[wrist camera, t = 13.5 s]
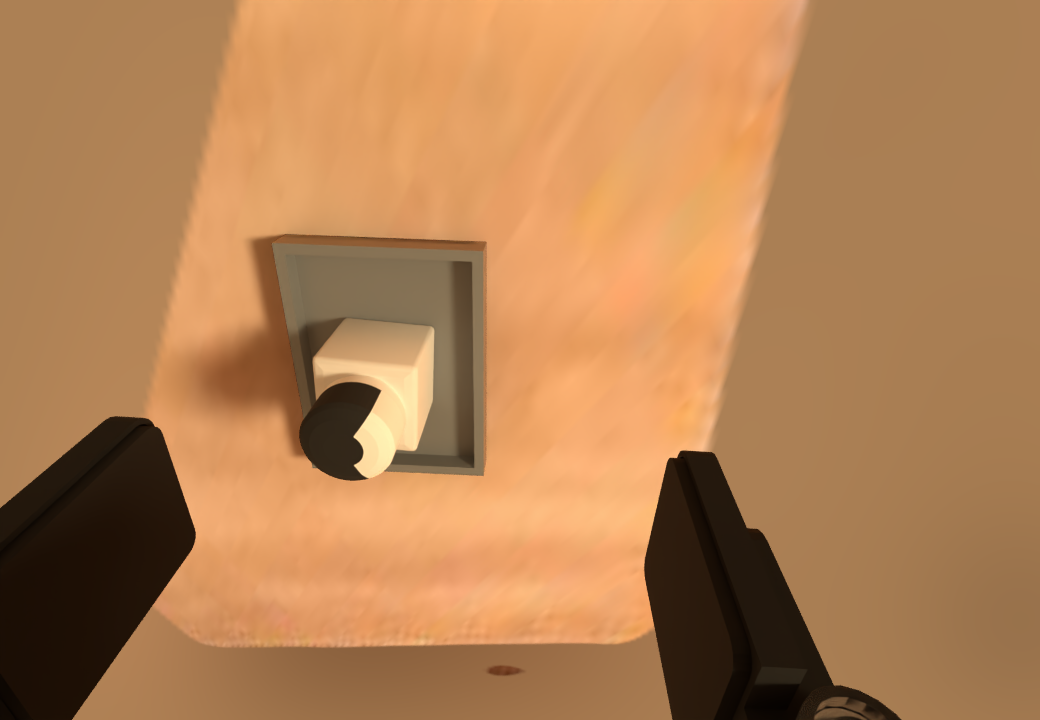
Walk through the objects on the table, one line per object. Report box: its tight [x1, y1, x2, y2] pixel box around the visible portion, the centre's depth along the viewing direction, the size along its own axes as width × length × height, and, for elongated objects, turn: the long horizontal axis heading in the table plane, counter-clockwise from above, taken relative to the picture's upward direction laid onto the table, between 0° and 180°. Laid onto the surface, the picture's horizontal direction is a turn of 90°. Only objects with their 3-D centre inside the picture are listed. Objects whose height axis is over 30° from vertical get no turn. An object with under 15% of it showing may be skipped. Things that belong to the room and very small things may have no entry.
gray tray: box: [272, 234, 486, 476], centre depth 44 cm, size 20×15×2 cm
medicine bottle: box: [299, 318, 434, 481], centre depth 39 cm, size 7×7×12 cm
